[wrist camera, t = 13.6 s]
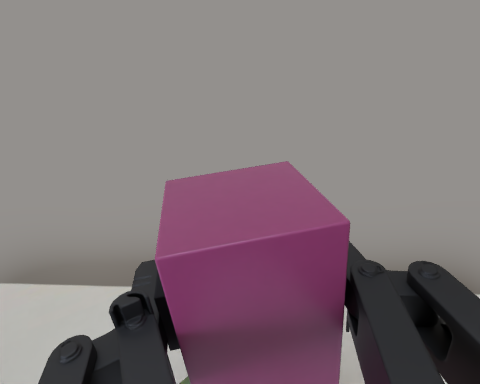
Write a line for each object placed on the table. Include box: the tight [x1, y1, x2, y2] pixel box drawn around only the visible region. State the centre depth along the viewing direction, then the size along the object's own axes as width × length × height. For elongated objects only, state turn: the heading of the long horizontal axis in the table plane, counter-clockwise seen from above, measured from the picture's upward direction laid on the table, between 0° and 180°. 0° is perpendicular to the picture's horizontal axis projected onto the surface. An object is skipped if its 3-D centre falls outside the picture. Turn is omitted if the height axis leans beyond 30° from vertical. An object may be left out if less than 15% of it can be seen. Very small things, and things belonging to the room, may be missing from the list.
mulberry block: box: [155, 161, 350, 384], centre depth 12 cm, size 6×6×10 cm
